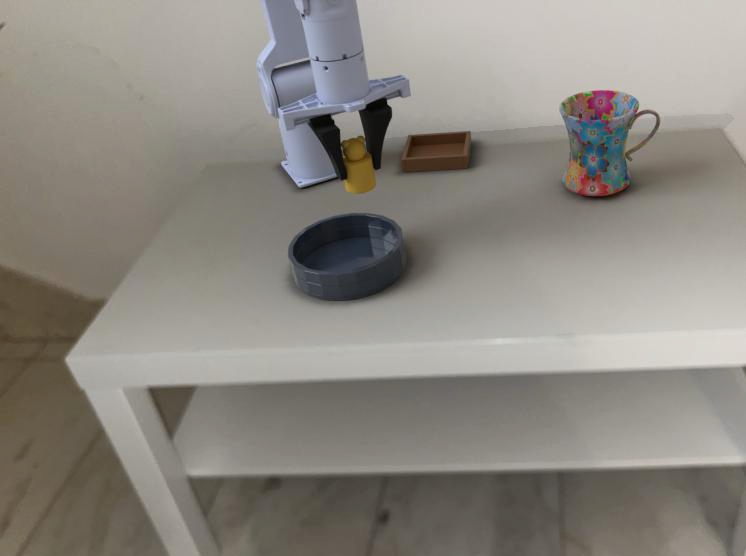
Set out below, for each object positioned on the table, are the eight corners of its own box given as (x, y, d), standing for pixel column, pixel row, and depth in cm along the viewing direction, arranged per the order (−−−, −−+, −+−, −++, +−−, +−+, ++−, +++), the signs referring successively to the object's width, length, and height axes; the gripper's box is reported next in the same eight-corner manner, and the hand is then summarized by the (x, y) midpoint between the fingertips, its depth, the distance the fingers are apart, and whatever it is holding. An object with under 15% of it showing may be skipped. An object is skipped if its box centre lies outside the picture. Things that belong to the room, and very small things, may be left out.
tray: (402, 172, 107) (400, 159, 106) (409, 146, 114) (408, 134, 113) (468, 168, 106) (467, 155, 105) (471, 142, 112) (470, 130, 111)
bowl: (281, 259, 93) (274, 234, 91) (381, 226, 96) (376, 201, 94) (315, 314, 83) (308, 288, 81) (425, 275, 86) (421, 249, 84)
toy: (341, 185, 90) (332, 137, 86) (369, 176, 91) (361, 128, 87) (351, 197, 87) (342, 148, 84) (381, 188, 88) (373, 139, 85)
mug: (564, 206, 95) (564, 124, 88) (555, 172, 102) (554, 94, 95) (663, 196, 94) (671, 113, 87) (647, 163, 101) (653, 83, 94)
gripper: (280, 80, 75) (309, 204, 83) (415, 44, 78) (429, 166, 87) (262, 61, 80) (290, 179, 88) (389, 28, 84) (405, 145, 92)
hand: (358, 171), depth 88 cm, fingers closed on toy, 3 cm apart
